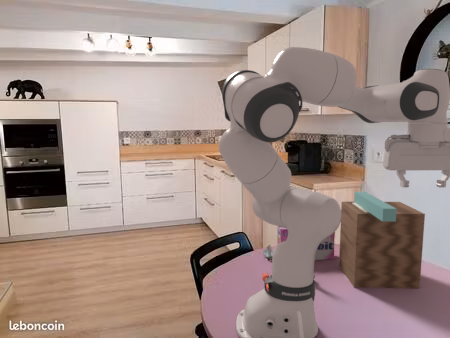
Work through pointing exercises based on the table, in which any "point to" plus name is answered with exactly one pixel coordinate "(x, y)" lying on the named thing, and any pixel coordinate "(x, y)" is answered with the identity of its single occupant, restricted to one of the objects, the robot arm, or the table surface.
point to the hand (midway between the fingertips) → (422, 187)
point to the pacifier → (268, 252)
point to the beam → (375, 206)
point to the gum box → (324, 248)
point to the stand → (381, 247)
